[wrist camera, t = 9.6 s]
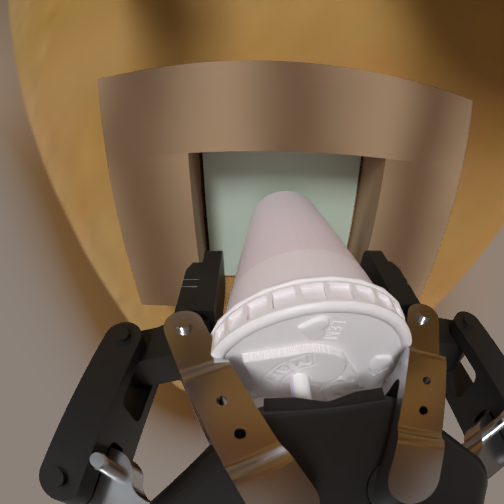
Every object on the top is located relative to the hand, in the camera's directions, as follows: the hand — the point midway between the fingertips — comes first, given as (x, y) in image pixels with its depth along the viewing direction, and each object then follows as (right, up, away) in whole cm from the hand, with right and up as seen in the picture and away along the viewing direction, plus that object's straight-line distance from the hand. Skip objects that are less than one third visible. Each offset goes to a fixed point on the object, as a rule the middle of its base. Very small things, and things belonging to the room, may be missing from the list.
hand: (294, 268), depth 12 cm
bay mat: (0, +3, +5) cm, 5 cm away
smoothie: (0, +2, +4) cm, 4 cm away
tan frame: (0, +5, +3) cm, 6 cm away
